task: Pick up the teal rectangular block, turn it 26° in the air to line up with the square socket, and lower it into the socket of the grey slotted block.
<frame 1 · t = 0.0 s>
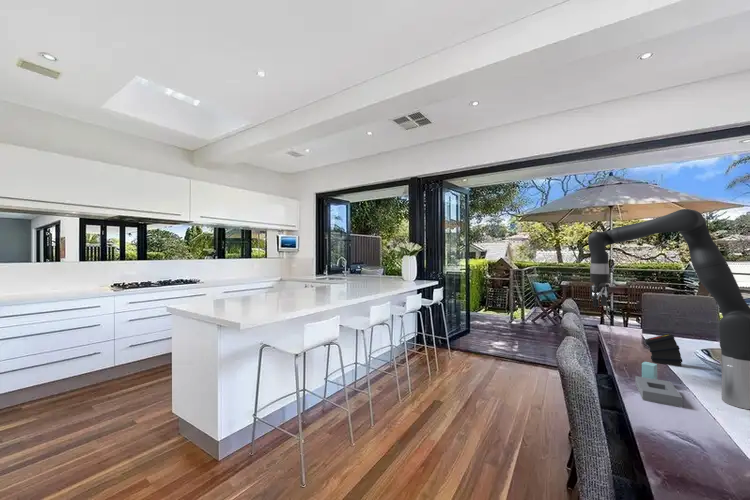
hand: (599, 306, 153), 29 cm above the table, tool pointing down, fingers open, 8 cm apart
grey slotted block: (657, 394, 123), on the table
teal rectangular block: (649, 382, 134), on the table
black ridged block: (663, 363, 156), on the table
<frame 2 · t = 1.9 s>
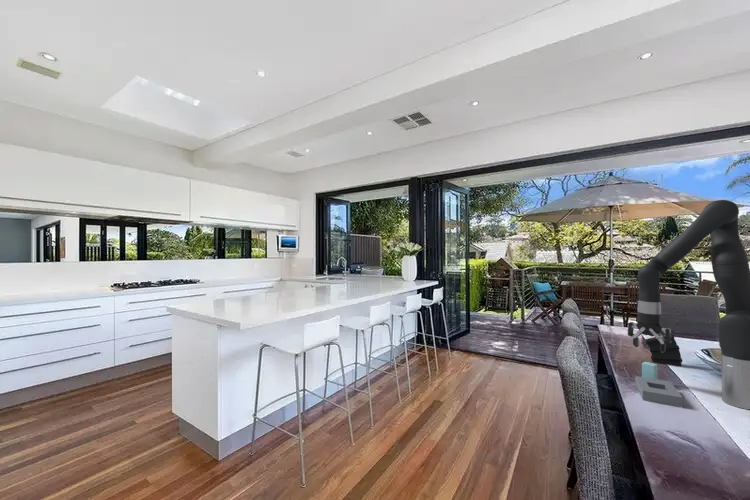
hand: (648, 349, 134), 14 cm above the table, tool pointing down, fingers open, 8 cm apart
nothing on the table moved.
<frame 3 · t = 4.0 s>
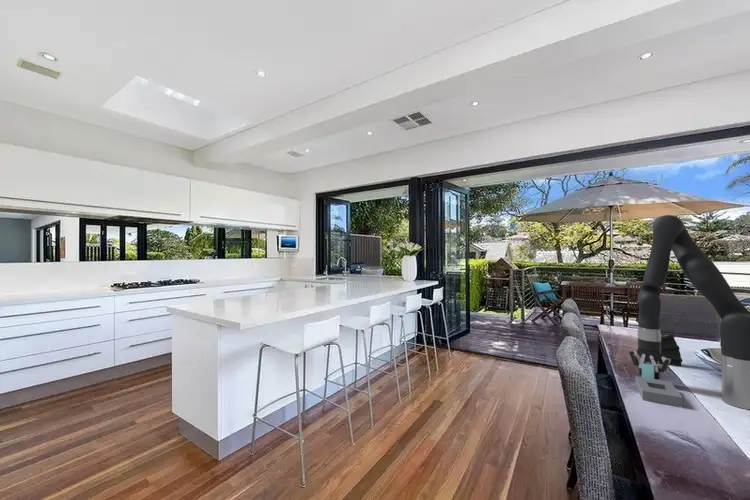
hand: (649, 378, 134), 2 cm above the table, tool pointing down, fingers closed on teal rectangular block, 4 cm apart
teal rectangular block: (649, 382, 134), on the table, touching gripper
everything else where it was.
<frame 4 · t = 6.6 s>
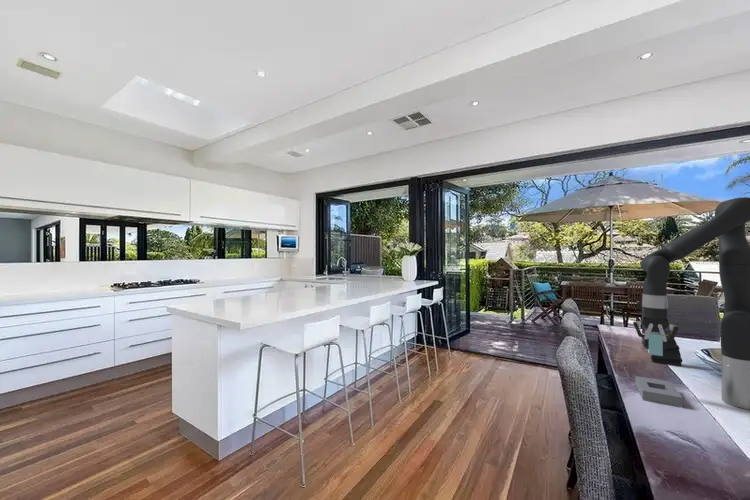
hand: (655, 349, 125), 17 cm above the table, tool pointing down, fingers closed on teal rectangular block, 4 cm apart
teal rectangular block: (655, 353, 125), point 15 cm above the table, touching gripper
everything else where it was.
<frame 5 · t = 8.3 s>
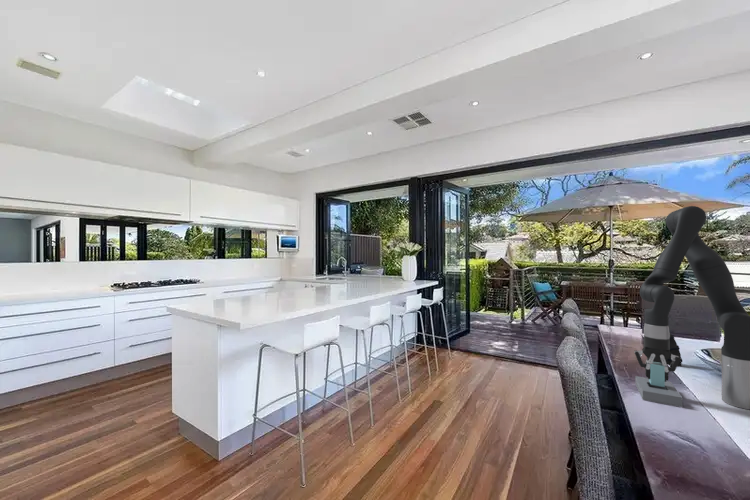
hand: (656, 379, 123), 6 cm above the table, tool pointing down, fingers closed on teal rectangular block, 4 cm apart
teal rectangular block: (656, 383, 123), point 4 cm above the table, touching gripper
everything else where it was.
when the fingers open (4 cm above the table, at t = 9.3 s): teal rectangular block drops 2 cm, resting in grey slotted block.
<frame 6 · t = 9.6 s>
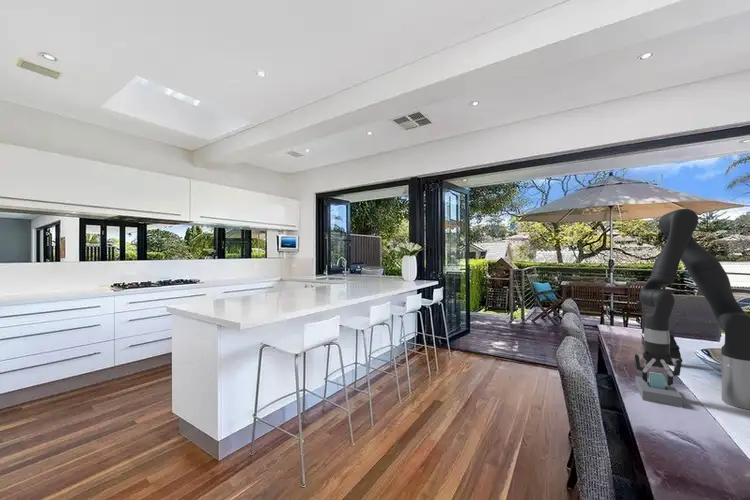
hand: (657, 383, 123), 5 cm above the table, tool pointing down, fingers open, 6 cm apart
teal rectangular block: (657, 395, 123), resting in grey slotted block
everything else where it was.
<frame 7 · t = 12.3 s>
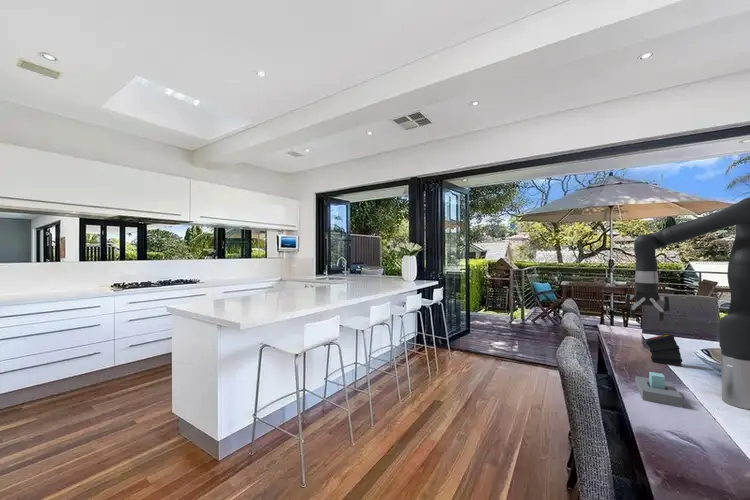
hand: (646, 319, 135), 27 cm above the table, tool pointing down, fingers open, 8 cm apart
nothing on the table moved.
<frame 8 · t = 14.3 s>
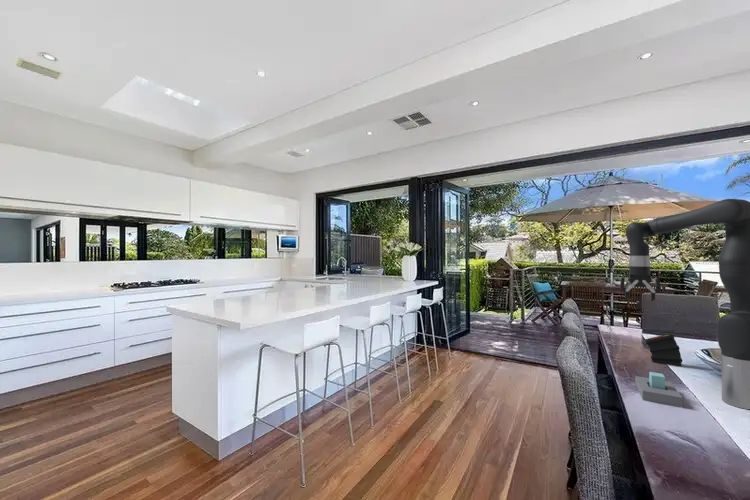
hand: (639, 300, 147), 33 cm above the table, tool pointing down, fingers open, 8 cm apart
nothing on the table moved.
at the end: teal rectangular block 0.1 cm off-centre on the grey slotted block, point 0.0 cm above the grey slotted block's base; teal rectangular block tilted 0°; the gripper is holding nothing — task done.
